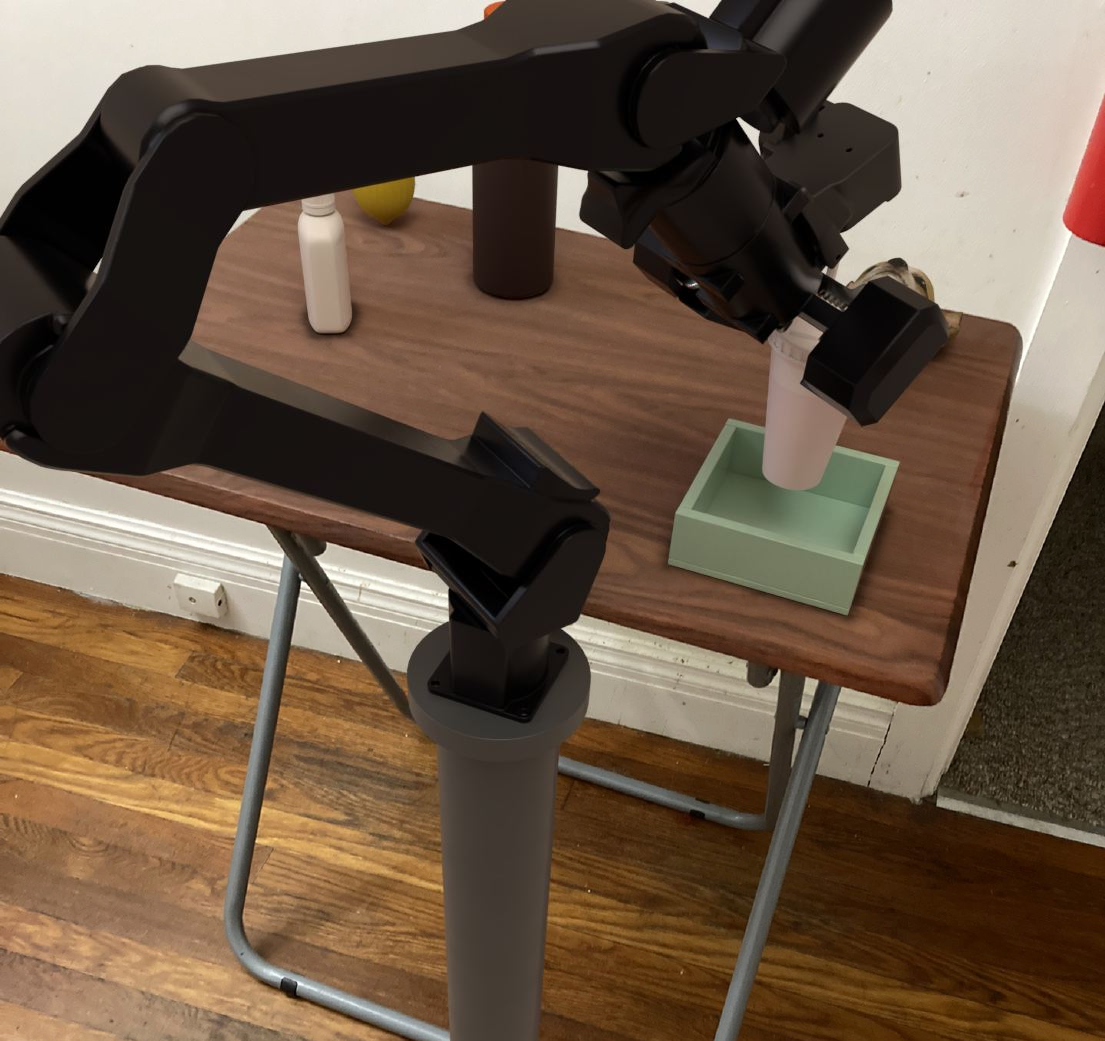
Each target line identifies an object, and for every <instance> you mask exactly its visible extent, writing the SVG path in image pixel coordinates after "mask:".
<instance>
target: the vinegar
mask: <svg viewBox="0 0 1105 1041" xmlns="http://www.w3.org/2000/svg"><path fill="white" fill-rule="evenodd" d="M504 1H505V0H500V1H495V2H493V3H492V2H491V3H490V4H488V5H487V6H485V8H483V20H484V19H485V18H486V17H487V16H489V15H490V14H491V13H492V12H493V11H494V10H495V9H496V8H497V7H499V6H500V5H501V4H502V3H503V2H504ZM471 174H472V175H471V188H472V189H471V190H472V193H471V194H472V197H471V198H472V199H471V200H472V202H471V203H472V204H471V205H472V207H471V208H472V277H473V281H474V282H475V284H476V285H477V286H478V287H479V288H481V289H482V290H483V291H484V292H485V293H489V294H491V295H494V296H498V297H503V298H516V299H520V298H527V297H533V296H536V295H540V294H541V293H542V292H544V291H546V290H548V289H549V288H550V286H551V285H552V283H553V281H554V273H555V272H554V271H555V269H554V268H555V251H556V228H557V208H558V186H559V185H558V184H559V166H558V165H553V164H548V163H542V162H537V161H532V160H508V159H504V160H497V161H492V162H487V163H482V164H477V165H472V166H471Z"/></svg>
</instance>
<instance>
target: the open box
mask: <svg viewBox="0 0 1105 1041" xmlns="http://www.w3.org/2000/svg"><path fill="white" fill-rule="evenodd" d="M764 439H765V426H761V425H757V424H754V423H750V422H745V421H743V420H738V419H734V418H728V419H727V420H726V422H725V424H724V425H723V428H722V430H721V431H720V433H719V435H718V436H717V439H716V440H715V442H714V444H713V446H712V447H711V448H710V451H709V452H708V455H707V456H706V458H705V459H704V462H703V463H702V465H701V467H700V469H699V470H698V472H697V474H696V476H695V478H694V479H693V481H692V483H691V485H690V486H689V488H688V489H687V491H686V493H685V495H684V497H683V499H682V500H681V503H680V504H679V506H678V507H677V509H676V510H675V513H674V520H673V526H672V531H671V532H672V533H671V539H670V546H669V552H668V560H667V565H670V566H673V567H676V568H680V569H683V570H687V571H691V572H694V573H698V574H700V575H705V576H707V577H711V578H715V579H718V580H721V581H725V582H729V583H732V584H735V585H739V586H742V587H746V588H749V589H753V590H756V591H759V592H764V593H766V594H770V595H773V596H778V597H781V598H784V599H787V600H791V601H795V602H799V603H800V604H801V603H802V604H805V605H808V606H812V607H816V608H818V609H819V608H820V609H822V610H825V611H830V612H833V613H837V614H840V615H843V616H849V613H850V612H851V611H850V610H851V608H852V605H853V602H854V600H855V596H856V593H857V590H858V589H859V588H858V587H859V585H860V582H861V579H862V577H863V574H864V572H865V568H866V566H867V563H868V559H869V556H870V554H871V551H872V549H873V546H874V543H875V540H876V537H877V534H878V533H879V532H878V531H879V529H880V527H881V526H880V525H881V522H882V520H883V518H884V514H885V512H886V509H887V505H888V502H889V500H890V495H891V493H892V489H893V486H894V483H895V479H896V476H897V474H898V470H899V466H900V464H901V462H900V461H899V460H895V459H892V458H887V457H884V456H880V455H876V454H872V453H868V452H863V451H861V450H856V449H852V448H848V447H844V446H840V445H837V444H836V445H835V448H834V450H833V453H832V455H831V457H830V460H829V462H828V464H827V467H826V469H825V472H824V474H823V476H822V479H821V481H820V483H819V484H818V485H817V486H815V487H813V488H811V489H807V490H789V489H785V488H781V487H779V486H776V485H774V484H773V483H771V482H770V481H768V480H767V479H766V478H765V476H764V474H763V472H762V465H763V452H764Z"/></svg>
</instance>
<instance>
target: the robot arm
mask: <svg viewBox="0 0 1105 1041" xmlns="http://www.w3.org/2000/svg"><path fill="white" fill-rule="evenodd" d="M503 1H504V2H503V3H502V4H501V5H500V6H499V7H497V8H496V9H495V10H494V11H493V12H492V13H491V14H490V15H489V16H487V17H486V18H485V19H484V18H483V19H482V20H480V21H477V22H474V23H471V24H469V25H466V26H463V27H461V28H458V29H454V30H447V31H440V32H433V33H427V34H426V33H425V34H420V35H412V36H405V37H398V38H390V39H381V40H375V41H368V42H362V43H354V44H348V45H341V46H333V47H325V48H319V49H313V50H304V51H298V52H297V51H296V52H289V53H284V54H277V55H269V56H262V57H255V58H248V59H241V60H234V61H227V62H219V63H212V64H205V65H198V66H197V65H196V66H189V67H184V68H181V67H171V66H166V65H162V64H146V65H143V66H139V67H136V68H134V69H131V70H128V71H125V72H123V73H121V74H120V75H119V76H118V77H117V79H115V80H114V81H113V82H112V84H110V85H109V86H108V87H107V89H106V90H105V92H104V94H103V95H102V97H101V99H100V100H99V102H98V103H97V105H96V107H95V108H94V110H93V111H92V113H91V114H90V116H89V118H88V119H87V121H86V123H85V124H84V126H83V128H82V129H81V130H80V132H79V133H77V135H76V136H75V137H74V138H72V140H70V141H69V142H68V143H67V144H66V145H65V146H64V147H62V148H61V149H60V150H59V151H58V152H57V153H56V154H55V155H53V156H52V157H51V158H50V159H49V160H48V161H47V162H45V163H44V164H43V165H42V166H41V167H40V168H39V169H38V170H37V171H36V172H34V174H32V175H31V176H30V177H29V178H28V179H27V180H26V181H24V182H23V184H21V185H20V187H19V188H18V189H17V190H16V191H15V193H14V195H12V197H11V199H10V201H9V202H8V204H7V206H6V207H5V209H4V211H3V213H2V214H1V215H0V439H1V440H2V442H4V444H5V445H6V446H7V448H8V449H9V450H11V451H12V452H13V453H14V454H15V455H17V456H18V457H20V458H21V459H22V460H24V461H27V462H29V463H31V464H34V465H35V466H38V467H41V468H44V469H48V470H54V471H61V472H69V473H70V472H71V473H80V474H81V473H82V474H91V475H101V476H102V475H103V476H114V477H120V478H121V477H123V478H133V479H134V478H135V479H138V478H144V477H149V476H152V475H155V474H160V473H163V472H167V471H170V470H176V469H179V468H182V467H186V466H194V467H203V468H207V469H211V470H214V471H218V472H221V473H225V474H228V475H232V476H235V477H238V478H241V479H246V480H248V481H251V482H256V483H259V484H262V485H266V486H268V487H273V488H276V489H280V490H283V491H286V492H290V493H294V494H296V495H300V496H304V497H307V498H311V499H314V500H318V501H320V502H323V503H327V504H331V505H335V506H338V507H342V508H345V509H348V510H352V511H355V512H359V513H362V514H366V515H369V516H373V517H375V518H380V519H382V520H386V521H390V522H393V523H397V524H400V525H403V526H407V527H410V528H414V529H417V530H421V531H420V532H419V534H418V536H417V537H416V538H415V540H414V546H415V548H416V550H417V552H418V553H419V556H420V558H421V560H422V561H423V563H424V565H426V567H427V568H428V569H429V570H431V571H433V572H434V573H435V574H436V575H437V577H439V578H440V579H441V581H442V582H443V583H444V584H445V585H446V586H447V587H448V590H447V603H448V604H447V606H448V621H449V641H450V650H449V651H448V653H447V654H446V656H445V657H444V659H443V660H442V661H441V663H440V664H439V666H438V667H437V669H436V670H435V672H434V673H433V674H432V676H431V677H430V679H429V680H428V682H427V689H428V691H429V692H430V693H431V694H434V695H437V696H440V697H443V698H446V699H449V700H452V701H455V702H458V703H461V704H464V705H467V706H470V707H473V708H476V709H479V710H482V711H486V712H489V713H492V714H495V715H498V716H501V717H504V718H507V719H510V720H513V721H516V722H519V723H523V724H525V723H529V722H531V721H532V719H533V718H534V716H535V714H536V712H537V711H538V709H539V707H540V706H541V704H542V702H543V700H544V699H545V697H546V695H547V694H548V692H549V690H550V688H551V687H552V685H553V683H554V682H555V680H556V678H557V677H558V675H559V673H560V671H561V670H562V668H563V666H564V665H565V663H566V661H567V659H568V657H569V649H568V648H567V647H565V646H563V645H560V644H556V643H553V642H550V633H553V632H555V631H557V630H559V629H564V628H566V627H569V626H570V625H573V624H575V623H577V622H578V621H579V619H580V617H581V614H582V612H583V610H584V607H585V605H586V603H587V600H588V597H589V595H590V593H591V590H592V588H593V585H594V583H595V580H596V577H598V576H597V575H598V573H599V571H600V569H601V565H602V564H603V561H604V558H605V555H606V552H607V542H608V537H609V531H610V523H611V519H612V515H611V513H610V511H609V510H608V509H607V507H605V506H604V504H602V503H601V502H600V501H598V499H596V497H598V496H599V495H600V494H601V492H602V491H601V488H599V487H598V486H597V485H596V484H594V483H593V482H592V481H591V480H590V479H589V478H588V477H586V476H585V475H584V474H583V472H581V471H580V470H579V469H577V468H576V467H575V466H574V465H573V464H571V462H569V461H568V460H567V459H566V458H564V457H563V455H562V454H560V453H559V452H558V451H556V450H555V449H554V448H553V447H552V446H551V445H550V444H548V443H547V442H546V441H545V440H544V439H543V438H541V437H540V436H539V434H537V433H536V432H534V430H532V429H531V428H530V427H528V426H522V427H513V426H509V425H505V424H503V423H502V422H500V421H499V420H497V419H496V418H494V417H493V416H492V415H490V414H489V413H487V412H486V411H485V410H482V411H481V412H480V413H479V416H478V418H477V420H476V423H475V426H474V429H473V431H472V433H471V434H469V435H466V436H465V435H464V436H463V437H459V438H457V439H449V438H448V439H447V438H443V437H441V436H438V435H435V434H432V433H430V432H427V431H425V430H422V429H420V428H417V427H415V426H412V425H409V424H406V423H403V422H401V421H399V420H397V419H393V418H391V417H388V416H385V415H383V414H381V413H377V412H375V411H373V410H370V409H367V408H365V407H362V406H359V405H356V404H355V403H351V402H349V401H346V400H343V399H340V398H338V397H336V396H333V395H330V394H327V393H325V392H323V391H320V390H318V389H315V388H312V387H309V386H307V385H304V384H301V383H299V382H296V381H294V380H291V379H288V378H285V377H282V376H281V375H277V374H275V373H273V372H269V371H267V370H264V369H262V368H259V367H257V366H253V365H251V364H249V363H246V362H243V361H241V360H239V359H236V358H233V357H231V356H228V355H224V354H223V353H220V352H218V351H215V350H213V349H209V348H207V347H205V346H202V344H200V343H198V342H196V341H195V340H193V339H192V336H193V333H194V330H195V327H196V322H197V320H198V319H197V318H198V316H199V313H200V309H201V307H202V303H203V300H204V296H205V294H206V291H207V287H208V283H209V281H210V277H211V274H212V270H213V267H214V263H215V260H216V257H217V254H218V251H219V248H220V246H221V245H222V243H223V241H224V240H225V238H227V235H228V234H229V233H230V231H231V230H232V228H233V227H234V225H235V224H236V222H237V220H238V219H239V218H240V217H241V215H242V213H243V212H247V211H251V210H256V209H261V208H267V207H271V206H277V205H281V204H286V203H292V202H297V201H302V199H307V198H312V197H317V196H322V195H327V194H332V193H334V194H336V193H341V192H346V191H347V192H348V191H351V190H352V191H353V189H357V188H362V187H367V186H372V185H377V184H382V183H387V182H392V181H397V180H402V179H407V178H412V177H415V178H418V177H421V176H426V175H432V174H436V173H442V172H447V171H452V170H456V169H461V168H466V167H472V165H477V164H482V163H487V162H492V161H497V160H504V159H508V160H532V161H537V162H542V163H548V164H553V165H558V167H564V168H569V169H573V170H579V171H584V172H587V173H586V174H587V175H586V176H587V178H586V179H587V186H586V188H585V190H584V192H583V194H582V196H581V199H580V205H579V212H578V218H579V220H580V222H582V223H584V224H585V225H587V226H588V227H589V228H591V229H592V230H594V231H596V232H597V233H598V234H600V235H602V236H603V237H605V238H606V239H608V240H609V241H611V242H612V243H614V244H615V245H616V246H618V247H620V248H621V249H623V250H630V249H632V248H633V256H632V264H634V266H635V267H636V269H638V270H639V271H640V272H641V273H642V275H643V276H644V277H645V278H646V279H647V280H648V281H649V282H650V283H652V284H654V285H655V286H657V287H658V288H659V289H661V290H663V291H664V292H665V293H667V294H668V295H670V296H671V297H673V298H674V299H677V298H678V301H679V302H680V303H682V304H683V305H684V306H686V307H687V308H689V309H690V310H691V311H693V312H694V313H696V315H697V314H698V315H699V316H700V317H702V318H703V319H705V320H707V321H709V322H712V323H715V324H718V325H721V326H724V327H727V328H730V329H732V330H733V329H734V330H737V331H739V332H742V333H744V334H746V335H748V336H750V338H753V339H754V340H755V341H757V342H758V343H759V344H761V345H764V344H765V343H766V342H767V341H768V338H769V336H770V335H771V334H772V333H773V331H774V330H776V331H778V332H779V333H784V332H786V331H787V330H788V328H789V327H790V326H791V325H792V323H793V321H794V319H795V318H796V317H797V316H798V317H800V318H801V319H803V320H804V321H806V322H807V323H809V324H810V325H812V326H814V327H815V328H817V329H818V330H820V331H821V332H823V334H822V335H821V336H820V338H819V339H818V340H819V342H818V344H817V345H816V346H815V347H814V349H813V350H812V351H811V352H810V353H809V355H808V358H807V362H806V366H805V370H804V375H803V379H802V380H801V382H800V384H801V385H802V386H803V387H805V388H806V389H808V390H809V391H811V392H812V393H813V394H815V395H816V396H818V397H819V398H821V399H822V400H824V401H825V402H826V403H828V404H829V405H831V406H832V407H834V408H835V409H837V410H838V411H839V412H841V413H842V414H844V415H845V416H847V419H850V420H851V421H852V422H854V423H855V424H857V425H858V426H860V427H861V428H862V427H863V428H864V427H866V426H871V425H875V424H878V423H879V422H880V420H882V418H883V417H884V416H885V414H886V413H888V411H889V410H890V409H891V407H892V406H893V405H895V403H896V402H897V401H898V399H899V398H900V397H901V396H902V395H903V394H904V392H905V391H906V390H907V389H908V388H909V386H910V385H911V384H912V383H913V381H914V380H915V379H916V378H917V377H918V376H919V375H920V374H921V372H922V371H923V370H924V369H925V367H926V366H927V365H928V364H929V363H930V362H931V360H932V359H933V358H934V357H935V356H936V355H937V354H938V352H939V351H940V350H941V348H943V347H944V346H943V345H944V344H945V343H946V341H947V340H948V339H949V323H948V322H947V320H946V318H945V316H944V314H943V312H944V311H943V310H942V309H941V307H940V305H939V303H937V302H936V301H935V302H933V301H931V300H930V299H928V298H926V297H924V296H923V295H921V294H919V293H918V292H916V291H914V290H912V289H911V288H909V287H907V286H905V285H904V284H902V283H900V282H899V281H897V280H895V279H893V278H892V277H890V276H888V275H887V276H883V277H880V278H877V279H874V280H870V281H868V283H867V284H862V285H859V286H857V287H856V288H854V289H849V288H847V287H846V285H844V284H842V283H841V282H839V281H838V280H836V279H835V280H834V279H833V278H831V277H829V276H828V275H826V273H825V272H823V271H824V269H825V268H826V267H827V268H830V269H833V268H835V266H836V265H837V264H838V263H839V264H840V262H841V260H842V259H843V258H844V257H845V256H846V254H847V253H848V252H849V250H850V247H849V245H848V244H847V243H846V241H845V239H844V237H843V236H842V234H843V233H845V232H848V231H850V230H851V229H852V228H853V227H855V226H856V225H858V224H859V223H860V222H862V220H864V219H866V217H868V216H869V215H870V214H871V213H872V212H874V211H875V210H876V209H878V208H880V206H882V204H884V203H890V202H891V201H892V200H893V199H895V198H896V197H897V196H898V195H899V194H900V192H901V190H902V187H903V184H902V167H901V165H902V164H901V151H900V149H901V148H900V135H899V134H900V133H899V128H898V127H897V125H895V124H894V123H893V122H890V121H889V120H885V118H882V117H879V116H877V115H876V114H873V113H872V112H869V111H867V110H865V109H863V108H861V107H859V106H857V105H855V104H852V103H850V102H845V101H844V102H843V101H842V102H832V101H830V100H829V99H828V98H829V97H830V96H831V95H832V93H833V92H834V91H835V89H836V88H837V87H838V85H839V84H840V83H841V81H843V79H844V77H845V76H846V75H847V73H849V71H850V70H851V68H852V67H853V66H854V65H855V63H856V62H857V61H858V59H860V57H861V55H862V54H863V53H864V51H865V50H866V49H867V47H868V46H869V45H870V44H871V42H872V41H873V40H874V39H875V37H876V36H877V35H878V34H879V32H880V31H881V30H882V28H883V27H884V25H885V24H886V23H887V22H888V21H889V19H890V18H891V16H892V13H893V11H894V10H893V7H894V6H893V0H720V1H719V2H718V4H717V5H716V7H715V8H714V9H713V11H712V13H710V15H709V17H707V16H705V15H703V14H701V13H698V12H696V11H694V10H692V9H690V8H687V7H685V6H683V5H681V4H679V3H677V2H675V1H672V2H670V1H666V0H503ZM738 118H739V119H740V120H742V121H743V122H745V123H746V124H747V125H748V126H750V127H751V128H753V129H755V130H757V131H758V132H759V133H758V140H757V143H758V149H759V151H758V149H757V148H756V147H755V145H754V143H753V142H752V141H751V139H750V137H749V136H748V134H747V133H746V131H745V130H744V128H743V127H742V125H741V124H740V122H739V120H738ZM839 261H840V262H839ZM98 265H99V267H98V269H97V272H95V270H96V268H97V266H98ZM821 297H823V299H824V300H823V299H821ZM826 300H828V302H829V303H830V304H829V303H828V302H826ZM832 303H833V304H834V306H835V307H834V306H833V305H831V304H832ZM838 306H839V309H840V310H839V309H837V308H836V307H838ZM845 308H846V309H845ZM942 346H943V347H942ZM558 653H562V654H558ZM434 685H438V686H437V687H435V686H434ZM521 714H526V715H525V716H524V715H521Z"/></svg>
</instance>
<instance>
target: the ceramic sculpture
mask: <svg viewBox="0 0 1105 1041" xmlns="http://www.w3.org/2000/svg"><path fill="white" fill-rule="evenodd" d="M887 275H888V276H890V277H892V278H893V279H895V280H897V281H899V282H900V283H902V284H904V285H905V286H907V287H909V288H911V289H912V290H914V291H916V292H918V293H919V294H921V295H923V296H924V297H926V298H928V299H930V300H931V301H933V302H935V303H936V300H935V299H936V298H935V289H934V285H933V283H932V281H931V279H930V278H929V277H928V275H926V273H925V272H924V271H923V270H920V269H919V268H917V267H914V266H910V265H909V264H908V263H907V261H906V260H905V259H904V258H902V257H893V258H890V259H888V260H887V261H881V262H877V263H876V264H873V265H871V266H869V267H867V268H866V269H864V271H863V272H861V274H860V275H859V276H858V277H857V279H855V280H850V281H849V282H848V283H847V284H846V285H845V286H846V287H847V288H849V289H854V288H856V287H857V286H859V285H862V284H867V283H868V281H870V280H874V279H877V278H880V277H883V276H887ZM942 312H943V314H944V316H945V318H946V320H947V322H948V323H949V339H948V340H947V341H946V343H945V344H944V345H943V346H942V347H941V348H944V347H946V346H947V345H948V344H950V343H952V341H954V340H955V339H956V338H957V336H958V335H959V333H960V331H961V324H962V321H963V316H964V312H963V311H957V312H951V313H950V312H949V313H946V312H944V311H942Z"/></svg>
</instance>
